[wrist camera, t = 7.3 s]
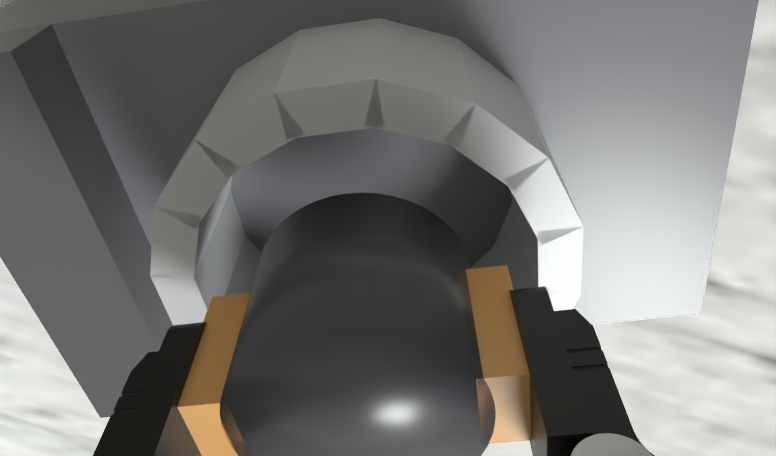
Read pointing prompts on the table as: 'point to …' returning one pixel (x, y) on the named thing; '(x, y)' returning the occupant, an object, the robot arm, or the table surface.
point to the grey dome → (361, 343)
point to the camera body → (356, 148)
